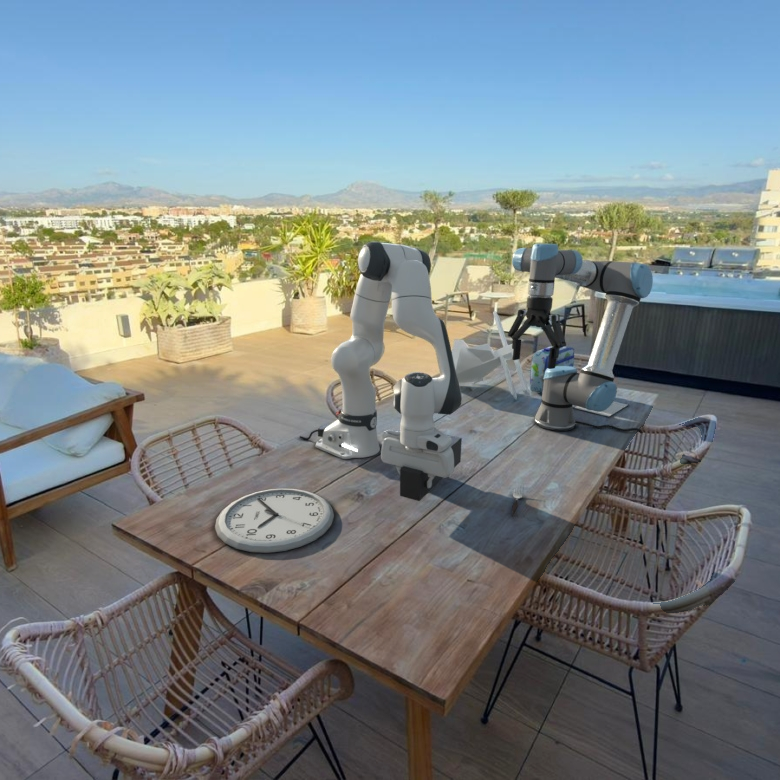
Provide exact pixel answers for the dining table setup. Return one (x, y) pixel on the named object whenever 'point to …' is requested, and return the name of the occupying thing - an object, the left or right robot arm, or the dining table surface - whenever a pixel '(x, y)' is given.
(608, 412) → the invitation card
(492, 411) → the dining table surface
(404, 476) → the bar
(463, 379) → the white plastic object
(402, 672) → the dining table surface
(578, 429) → the dining table surface
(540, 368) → the lunch box
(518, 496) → the fork
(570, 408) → the right robot arm
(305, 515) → the wall clock
